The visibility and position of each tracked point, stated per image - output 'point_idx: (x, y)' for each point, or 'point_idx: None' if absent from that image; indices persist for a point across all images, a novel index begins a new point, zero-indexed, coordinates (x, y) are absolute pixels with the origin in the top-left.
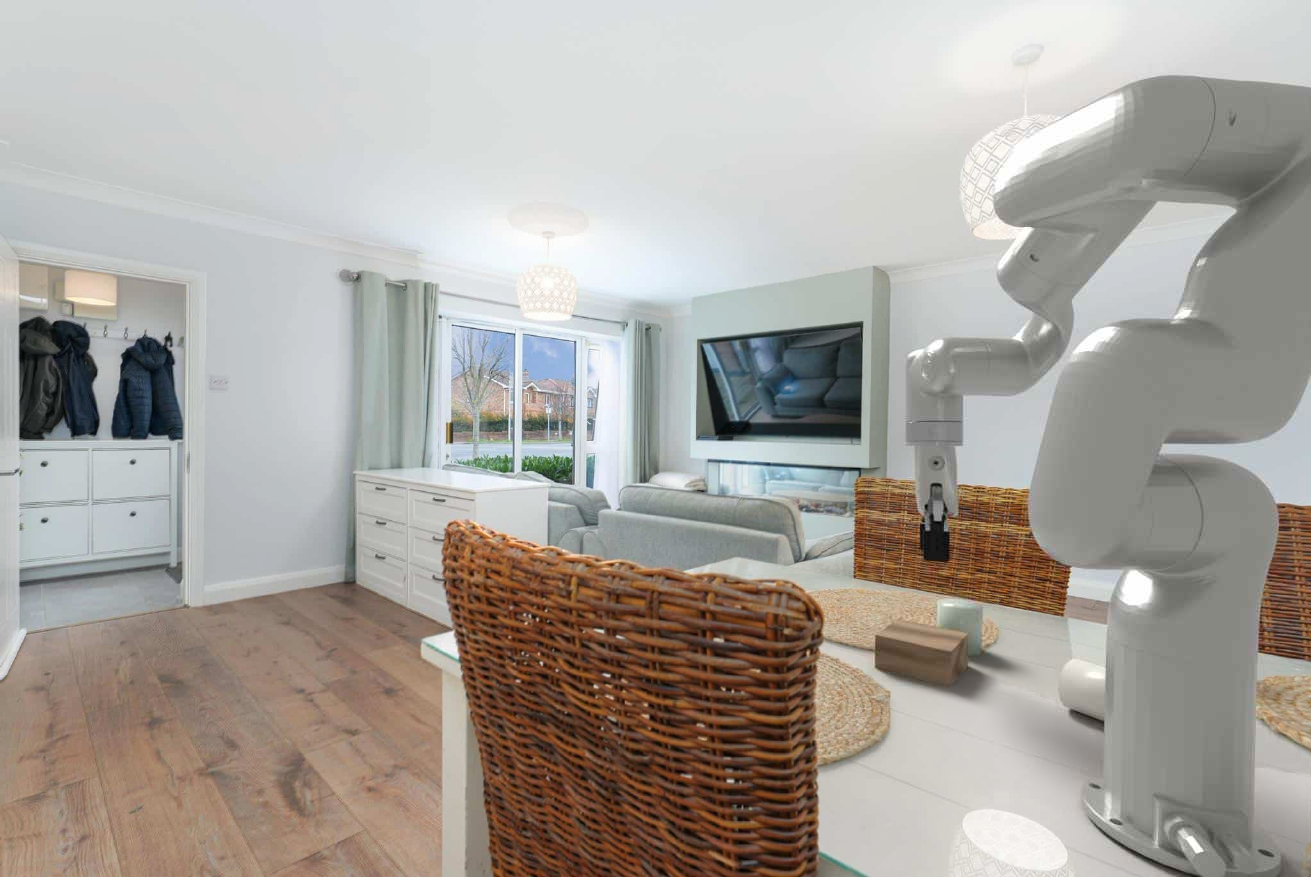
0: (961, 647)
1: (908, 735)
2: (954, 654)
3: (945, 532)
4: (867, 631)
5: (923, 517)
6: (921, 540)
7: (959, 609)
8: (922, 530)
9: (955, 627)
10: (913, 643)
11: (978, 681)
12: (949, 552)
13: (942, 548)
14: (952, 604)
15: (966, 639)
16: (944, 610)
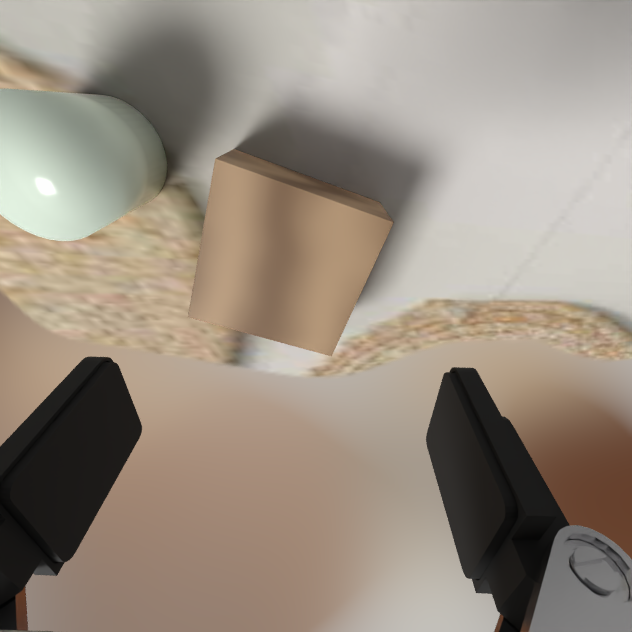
0: (292, 182)
1: (585, 279)
2: (357, 205)
3: (545, 528)
4: (130, 333)
5: (22, 626)
6: (119, 469)
7: (111, 182)
8: (85, 523)
9: (139, 181)
10: (360, 293)
11: (327, 138)
12: (490, 398)
13: (518, 444)
14: (60, 197)
15: (239, 164)
16: (109, 220)
